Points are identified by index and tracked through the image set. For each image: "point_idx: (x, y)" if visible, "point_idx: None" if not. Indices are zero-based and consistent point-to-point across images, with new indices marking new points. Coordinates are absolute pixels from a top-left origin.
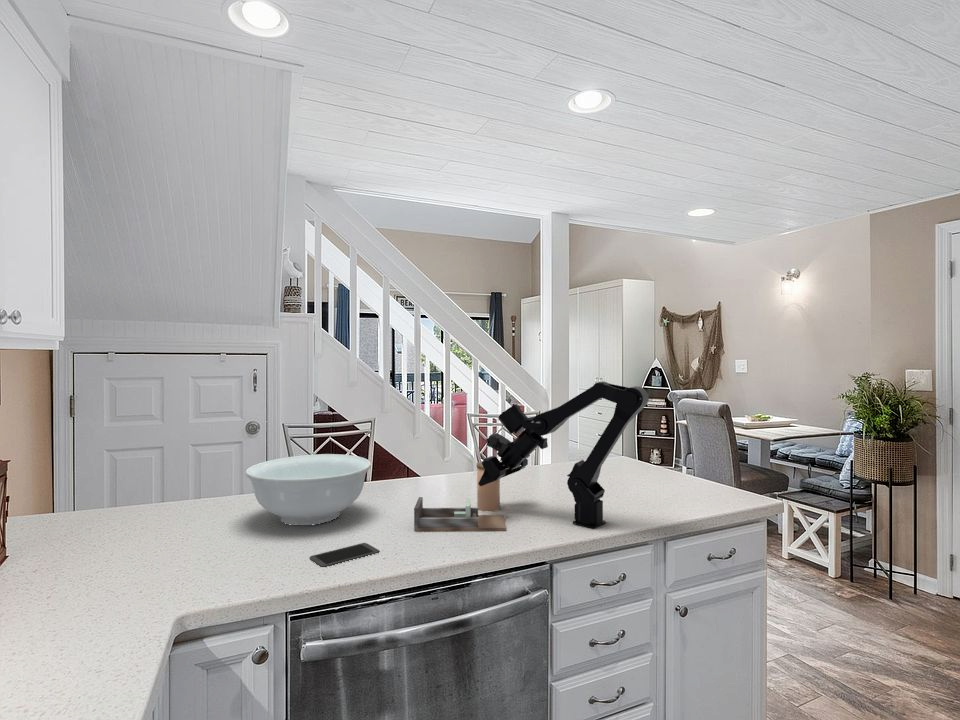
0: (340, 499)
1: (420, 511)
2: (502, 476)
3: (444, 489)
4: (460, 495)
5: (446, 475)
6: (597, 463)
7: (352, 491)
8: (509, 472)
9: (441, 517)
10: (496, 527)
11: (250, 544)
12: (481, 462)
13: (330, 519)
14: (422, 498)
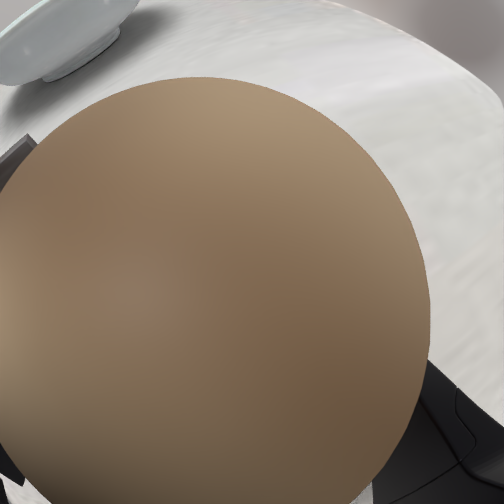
0: (5, 80)
1: (1, 189)
2: (3, 498)
3: (387, 84)
4: (366, 138)
5: (471, 75)
6: None
7: (11, 68)
8: (382, 500)
9: None
10: None
11: (2, 100)
12: (152, 123)
13: (54, 78)
14: (24, 145)
